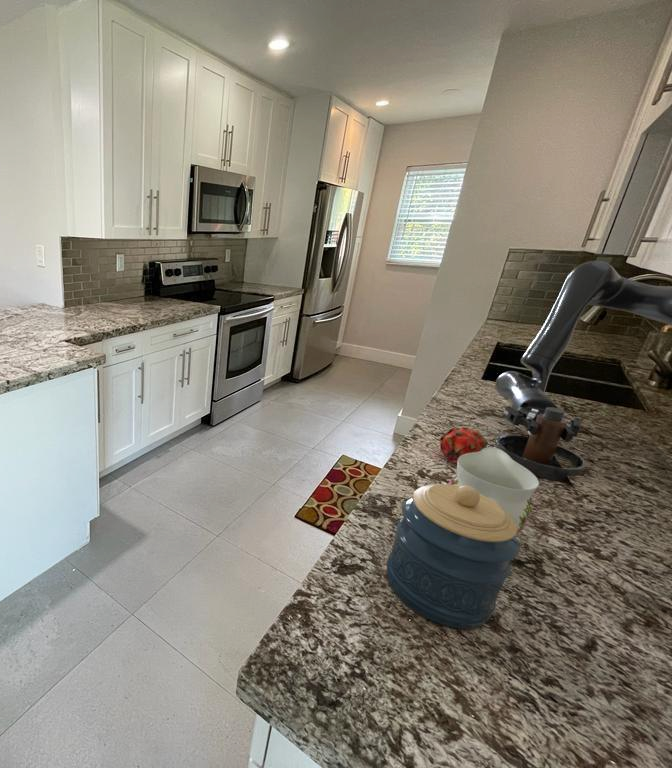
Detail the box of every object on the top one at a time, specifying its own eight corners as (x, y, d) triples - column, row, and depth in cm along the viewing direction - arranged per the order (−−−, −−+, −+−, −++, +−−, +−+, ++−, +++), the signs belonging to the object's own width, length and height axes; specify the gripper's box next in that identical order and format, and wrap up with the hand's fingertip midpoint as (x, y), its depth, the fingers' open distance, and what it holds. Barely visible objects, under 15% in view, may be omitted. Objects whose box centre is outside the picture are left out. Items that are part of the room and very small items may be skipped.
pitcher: (430, 557, 65) (454, 484, 60) (437, 501, 79) (457, 438, 74) (519, 591, 59) (553, 513, 54) (509, 524, 73) (536, 457, 68)
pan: (568, 459, 95) (573, 445, 94) (590, 492, 83) (597, 477, 82) (487, 442, 103) (492, 429, 101) (497, 470, 90) (502, 456, 89)
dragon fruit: (470, 459, 97) (448, 482, 91) (442, 430, 100) (419, 450, 94) (503, 443, 91) (482, 467, 84) (472, 413, 94) (450, 434, 87)
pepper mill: (546, 460, 93) (567, 408, 89) (551, 470, 90) (574, 416, 85) (519, 454, 96) (538, 403, 91) (523, 463, 92) (544, 411, 87)
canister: (514, 619, 55) (563, 510, 49) (440, 643, 51) (482, 530, 45) (429, 550, 66) (460, 456, 60) (364, 566, 63) (390, 467, 57)
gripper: (501, 387, 103) (514, 410, 89) (577, 399, 97) (604, 426, 83) (492, 414, 106) (504, 440, 92) (565, 427, 99) (590, 458, 85)
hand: (551, 433), depth 88 cm, fingers closed on pepper mill, 5 cm apart
